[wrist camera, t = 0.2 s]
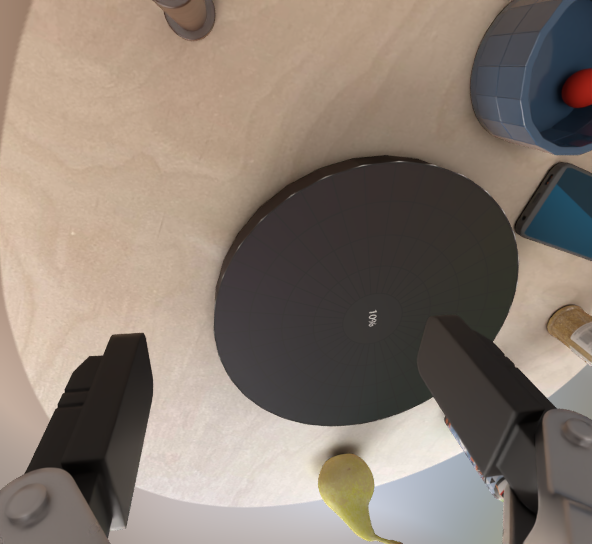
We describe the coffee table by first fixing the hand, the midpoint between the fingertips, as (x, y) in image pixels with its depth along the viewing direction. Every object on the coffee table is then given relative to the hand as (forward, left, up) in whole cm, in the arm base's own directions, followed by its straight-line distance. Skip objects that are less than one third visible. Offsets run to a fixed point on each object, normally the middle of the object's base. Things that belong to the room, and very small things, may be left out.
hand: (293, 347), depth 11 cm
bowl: (+9, +23, -22) cm, 33 cm away
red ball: (+12, +24, -20) cm, 34 cm away
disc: (+18, 0, -23) cm, 29 cm away
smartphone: (+26, +23, -22) cm, 41 cm away
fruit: (+37, -16, -23) cm, 46 cm away
